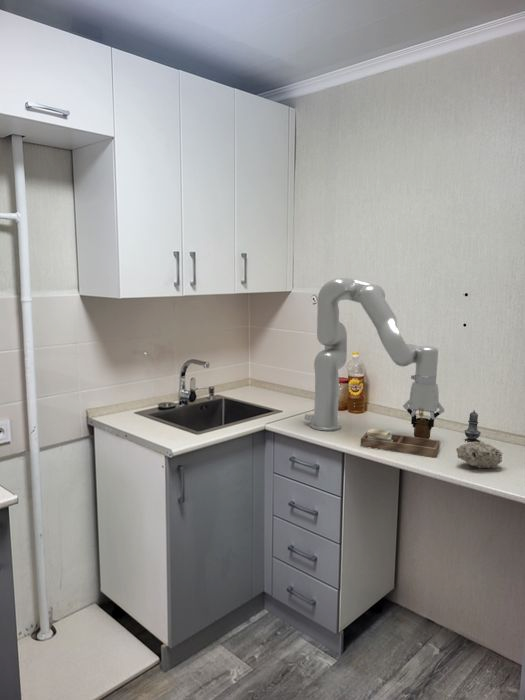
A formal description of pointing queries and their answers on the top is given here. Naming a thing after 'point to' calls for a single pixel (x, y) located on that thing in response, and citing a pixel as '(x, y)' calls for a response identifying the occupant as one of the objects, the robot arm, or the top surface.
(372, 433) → the offcut stack
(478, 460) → the pumice stone
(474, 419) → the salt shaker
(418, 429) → the utensil holder
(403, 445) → the wooden divided tray
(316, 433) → the top surface
